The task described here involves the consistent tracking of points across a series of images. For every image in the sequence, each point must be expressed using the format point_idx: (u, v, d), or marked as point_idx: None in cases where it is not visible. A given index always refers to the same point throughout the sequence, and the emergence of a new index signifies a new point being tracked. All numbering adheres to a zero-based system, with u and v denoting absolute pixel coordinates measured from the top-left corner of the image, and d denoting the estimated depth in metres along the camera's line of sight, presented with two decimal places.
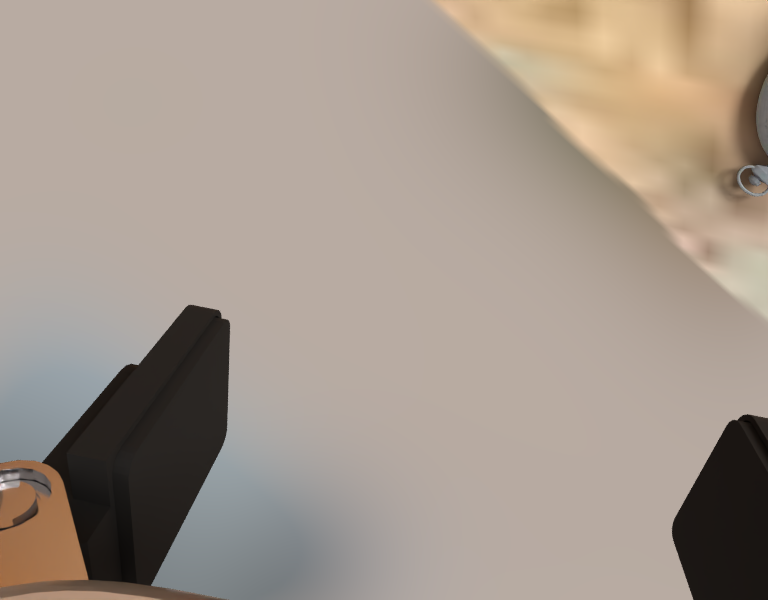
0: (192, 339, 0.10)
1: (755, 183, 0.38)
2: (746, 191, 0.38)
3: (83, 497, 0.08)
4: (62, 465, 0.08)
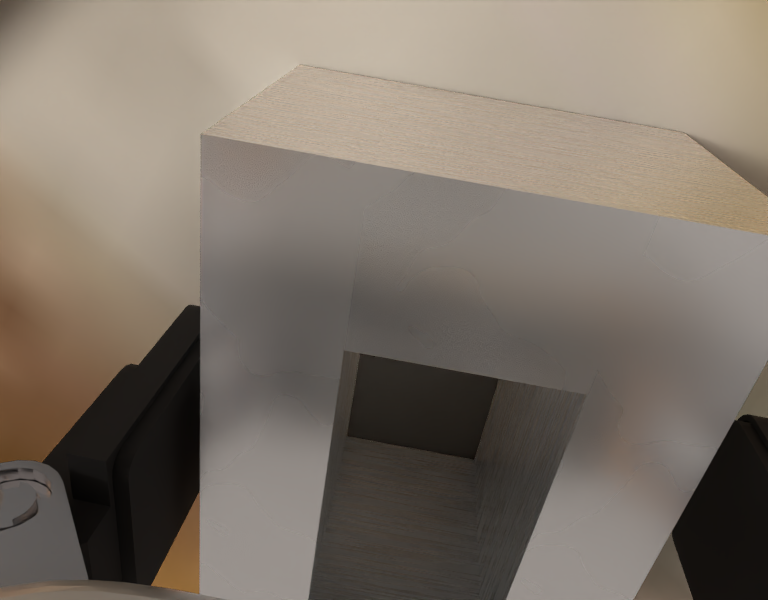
0: (192, 339, 0.10)
1: None
2: None
3: (83, 497, 0.08)
4: (62, 465, 0.08)
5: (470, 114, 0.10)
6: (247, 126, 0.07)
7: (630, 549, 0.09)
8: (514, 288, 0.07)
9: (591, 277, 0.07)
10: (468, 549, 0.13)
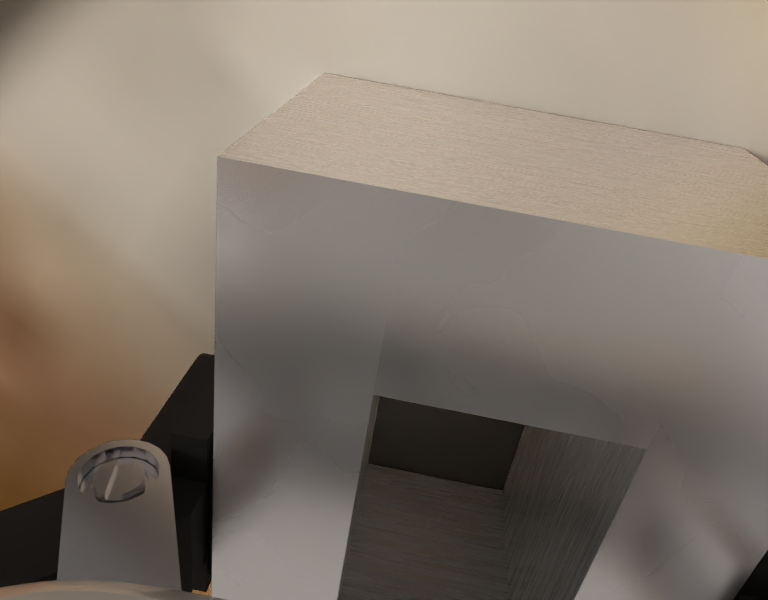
0: None
1: None
2: None
3: (182, 474, 0.08)
4: (156, 446, 0.09)
5: (511, 129, 0.09)
6: (269, 146, 0.07)
7: None
8: (569, 331, 0.06)
9: (658, 321, 0.06)
10: (498, 592, 0.12)
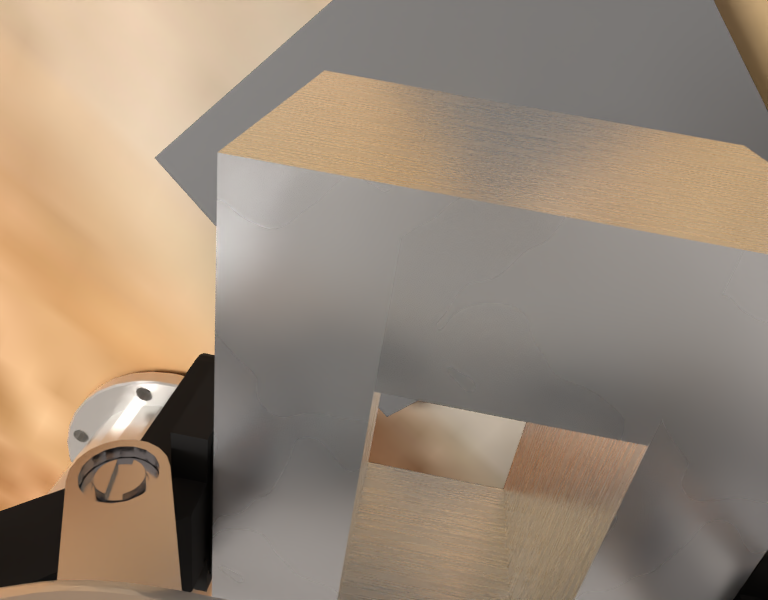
0: None
1: None
2: None
3: (182, 474, 0.08)
4: (157, 446, 0.09)
5: (512, 126, 0.09)
6: (270, 142, 0.07)
7: None
8: (571, 328, 0.06)
9: (660, 317, 0.06)
10: (498, 591, 0.12)
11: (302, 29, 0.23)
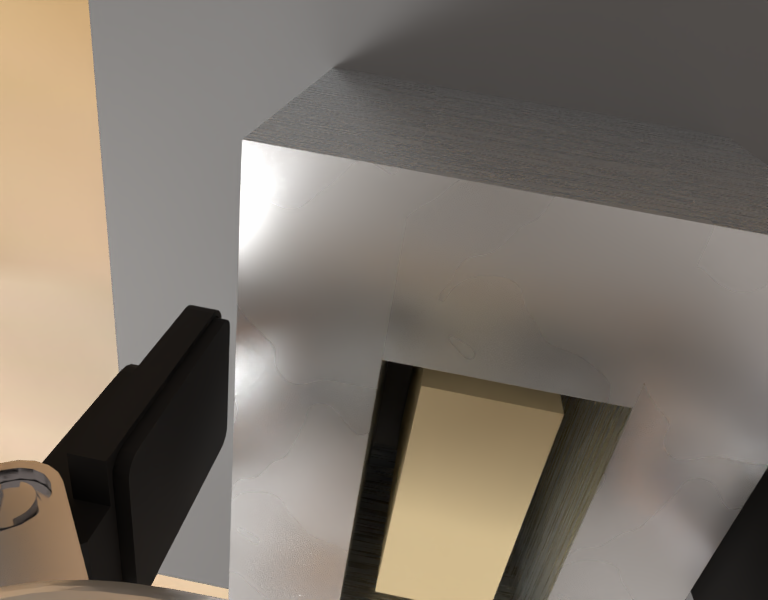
0: (192, 339, 0.10)
1: None
2: None
3: (83, 497, 0.08)
4: (62, 465, 0.08)
5: (509, 118, 0.09)
6: (287, 131, 0.07)
7: (672, 566, 0.09)
8: (560, 298, 0.07)
9: (641, 288, 0.07)
10: None
11: (119, 348, 0.15)
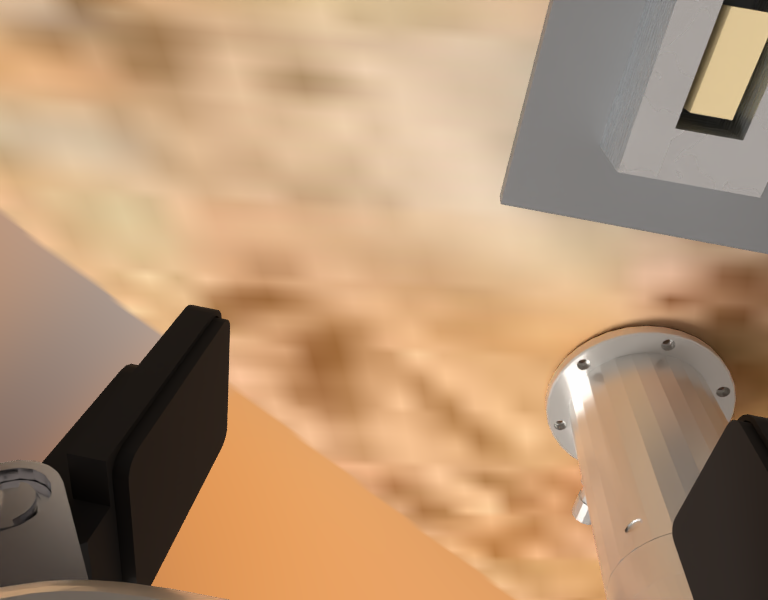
0: (192, 339, 0.10)
1: None
2: None
3: (83, 497, 0.08)
4: (62, 465, 0.08)
5: None
6: None
7: None
8: None
9: None
10: (722, 127, 0.31)
11: (539, 60, 0.33)
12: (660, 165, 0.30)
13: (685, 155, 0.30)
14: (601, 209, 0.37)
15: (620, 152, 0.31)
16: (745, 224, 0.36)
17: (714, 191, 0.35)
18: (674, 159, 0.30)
